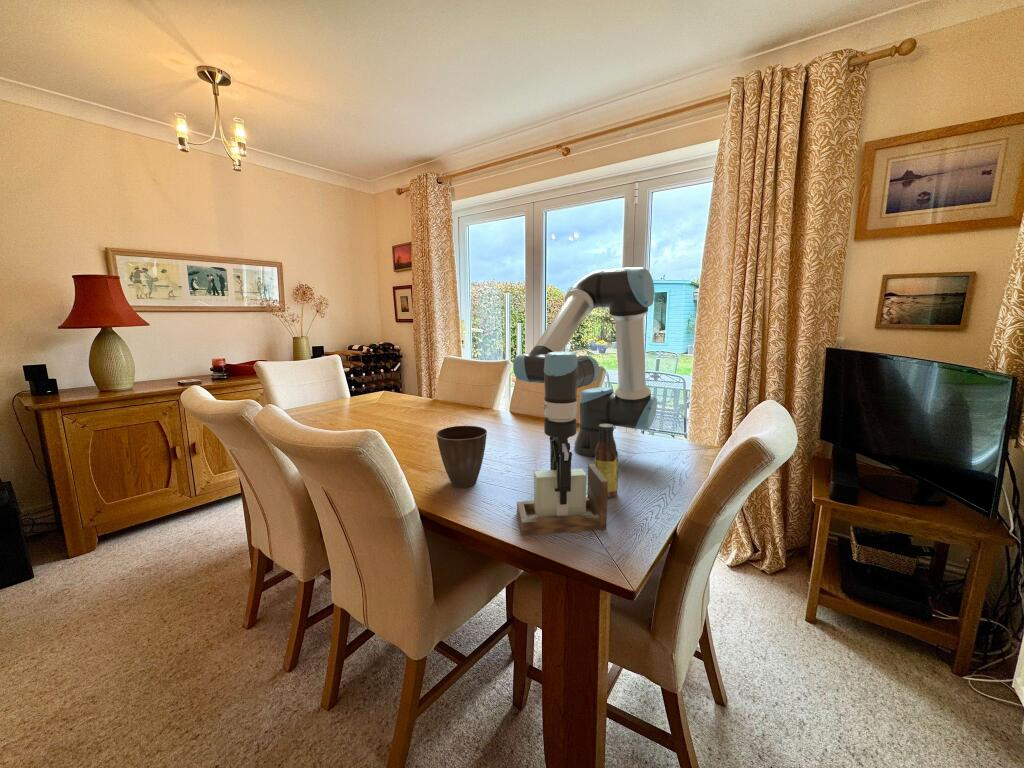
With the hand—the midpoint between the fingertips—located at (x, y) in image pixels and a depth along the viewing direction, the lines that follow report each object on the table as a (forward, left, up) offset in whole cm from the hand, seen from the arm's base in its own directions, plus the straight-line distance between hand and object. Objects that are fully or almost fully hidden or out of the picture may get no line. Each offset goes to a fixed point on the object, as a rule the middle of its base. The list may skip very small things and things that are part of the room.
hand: (559, 509), depth 100 cm
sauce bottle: (-16, -13, -3) cm, 21 cm away
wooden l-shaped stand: (0, 0, -3) cm, 3 cm away
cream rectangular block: (0, 0, 0) cm, 0 cm away
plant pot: (+24, -26, -3) cm, 36 cm away
